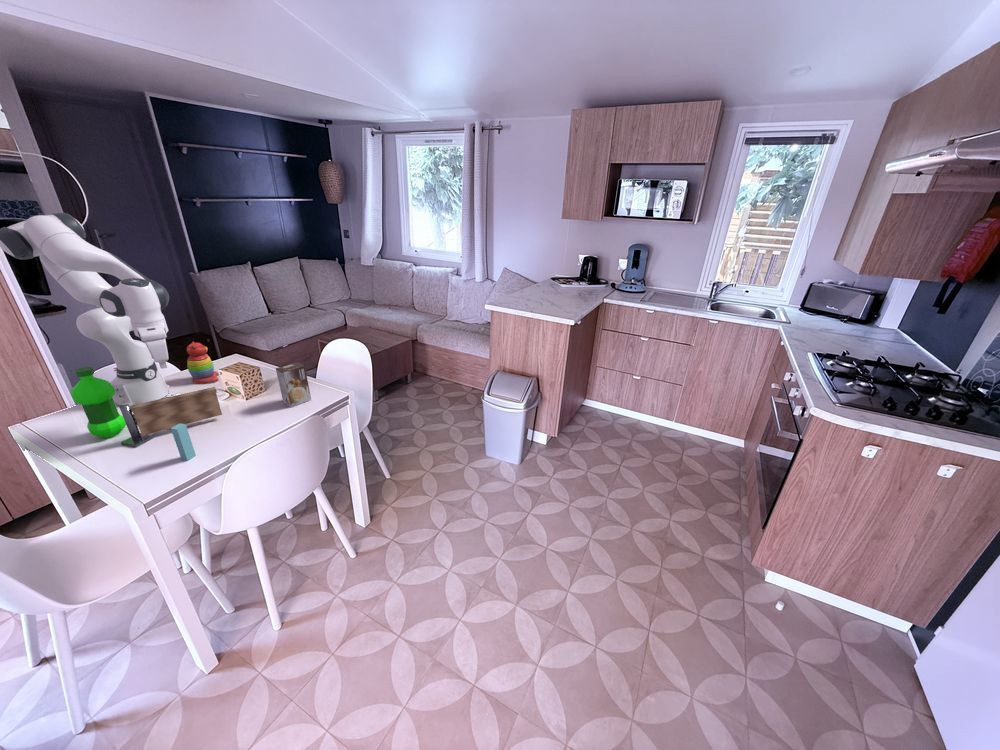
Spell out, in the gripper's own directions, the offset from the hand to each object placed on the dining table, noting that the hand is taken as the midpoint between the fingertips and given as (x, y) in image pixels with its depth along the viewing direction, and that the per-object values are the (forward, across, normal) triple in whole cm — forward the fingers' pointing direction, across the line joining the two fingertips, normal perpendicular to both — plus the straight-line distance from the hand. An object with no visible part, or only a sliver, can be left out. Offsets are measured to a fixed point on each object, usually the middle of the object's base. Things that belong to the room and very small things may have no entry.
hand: (163, 365), depth 140 cm
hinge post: (+23, +6, -13) cm, 27 cm away
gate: (+21, +6, 0) cm, 22 cm away
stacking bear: (+23, -37, +13) cm, 45 cm away
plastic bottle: (+23, -5, -20) cm, 31 cm away
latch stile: (+23, +27, -2) cm, 36 cm away
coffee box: (+23, +9, +38) cm, 46 cm away
